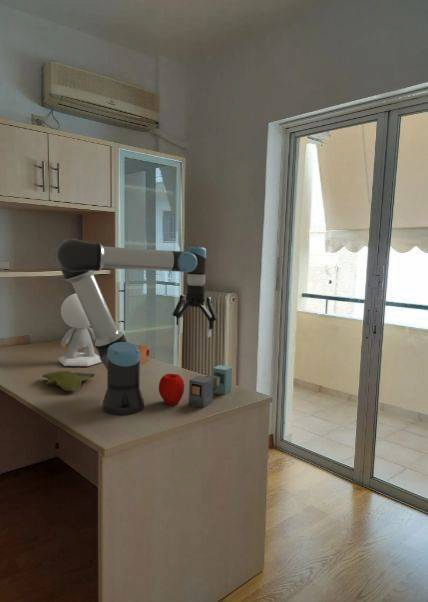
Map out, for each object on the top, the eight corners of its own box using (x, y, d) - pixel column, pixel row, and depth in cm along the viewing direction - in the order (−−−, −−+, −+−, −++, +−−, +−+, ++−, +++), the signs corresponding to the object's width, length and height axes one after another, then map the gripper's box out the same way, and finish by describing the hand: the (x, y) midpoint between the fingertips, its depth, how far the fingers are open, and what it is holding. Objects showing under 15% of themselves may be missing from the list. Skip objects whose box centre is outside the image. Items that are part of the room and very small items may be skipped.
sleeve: (203, 409, 166) (204, 382, 165) (188, 406, 169) (189, 379, 168) (212, 404, 172) (213, 378, 171) (198, 401, 175) (198, 375, 174)
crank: (136, 357, 241) (137, 342, 240) (150, 358, 239) (150, 344, 238) (120, 366, 222) (120, 350, 221) (134, 368, 220) (135, 352, 219)
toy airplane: (110, 386, 190) (110, 375, 189) (61, 397, 175) (61, 385, 174) (80, 372, 210) (80, 361, 209) (33, 380, 195) (33, 369, 194)
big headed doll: (92, 354, 244) (92, 290, 240) (107, 364, 225) (107, 295, 221) (55, 358, 233) (54, 291, 229) (67, 368, 214) (66, 296, 210)
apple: (152, 403, 171) (153, 372, 169) (172, 397, 178) (172, 368, 177) (170, 410, 164) (170, 378, 163) (189, 404, 171) (190, 373, 170)
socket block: (225, 396, 182) (226, 370, 180) (212, 393, 185) (213, 367, 183) (231, 392, 187) (232, 367, 185) (218, 390, 189) (219, 364, 188)
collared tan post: (201, 397, 165) (201, 385, 165) (190, 395, 168) (190, 383, 167) (221, 386, 179) (221, 375, 179) (210, 384, 182) (211, 373, 181)
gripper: (227, 286, 182) (225, 337, 185) (174, 281, 193) (173, 330, 195) (219, 287, 175) (217, 340, 178) (165, 282, 186) (164, 332, 188)
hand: (194, 335), depth 187 cm, fingers open, 13 cm apart
